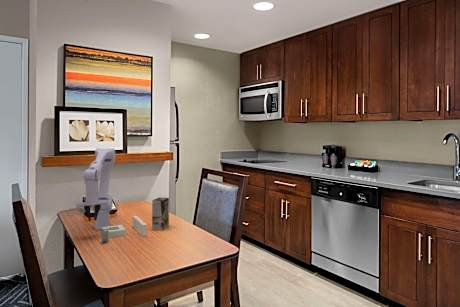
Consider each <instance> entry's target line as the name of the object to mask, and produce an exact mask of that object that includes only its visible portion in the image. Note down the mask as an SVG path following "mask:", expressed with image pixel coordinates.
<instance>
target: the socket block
mask: <svg viewBox="0 0 460 307" xmlns="http://www.w3.org/2000/svg"><path fill="white" fill-rule="evenodd" d="M103 229H108V239H109V238H110V239H112V238H119V237H124V236H126V234H127V232H126V231H127V230H126V228H125V227H124V225H123V224H115V225H110V226H108V227H102V229H101V231H102V230H103Z"/></svg>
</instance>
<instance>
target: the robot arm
mask: <svg viewBox="0 0 460 307" xmlns="http://www.w3.org/2000/svg"><path fill="white" fill-rule="evenodd" d="M94 157H95V160H93V161H92V162H91V163H90V165H89V167H88V169H86V170H84V172H83V179H84V185H85V201H84V202H77V203H75V208H77V209H79V208H84V210H85V212H86V215H87V218H88V220H87V221H89V222H91V210H92V211H93V212H94V215H93V217H94V218H93V219H94V223H95V224H93V225H92V226H93V228H94V229H95V231H99V230H102V227H108V226H111V225H110V211H112V210H113V205H114V204H113V197H112V195H110V194H109V185H110V176H111V169H112V168H111V167H112V166H113V165H114V164H115V161H116V150H115V148H114V147H112V148H104V147H103V148H100V147H97V148H96V149H95V151H94Z"/></svg>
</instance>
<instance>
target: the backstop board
mask: <svg viewBox="0 0 460 307" xmlns="http://www.w3.org/2000/svg"><path fill="white" fill-rule="evenodd" d="M147 225H148V224H147V223H146V222H144V221H143V220H142V219H141V218H140V217H139V216H137V215H132V228H133V229H135V230H136V232H138V233H139V235H140V236H141V237H147V236H148V234H147V233H148V232H147V231H148V228H147Z"/></svg>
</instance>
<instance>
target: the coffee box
mask: <svg viewBox="0 0 460 307" xmlns="http://www.w3.org/2000/svg"><path fill="white" fill-rule="evenodd" d="M169 202H170V198H169V197H158V198H155V199H153V200H151V204H152V205H151V206H152V207H151V219H152V220H151V221H152V222H151V227H152V228H151V230H154V231H155V230H156V231H163V230H165V229H167V228H168V227H169V226H170V224H169V223H170V203H169Z"/></svg>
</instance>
